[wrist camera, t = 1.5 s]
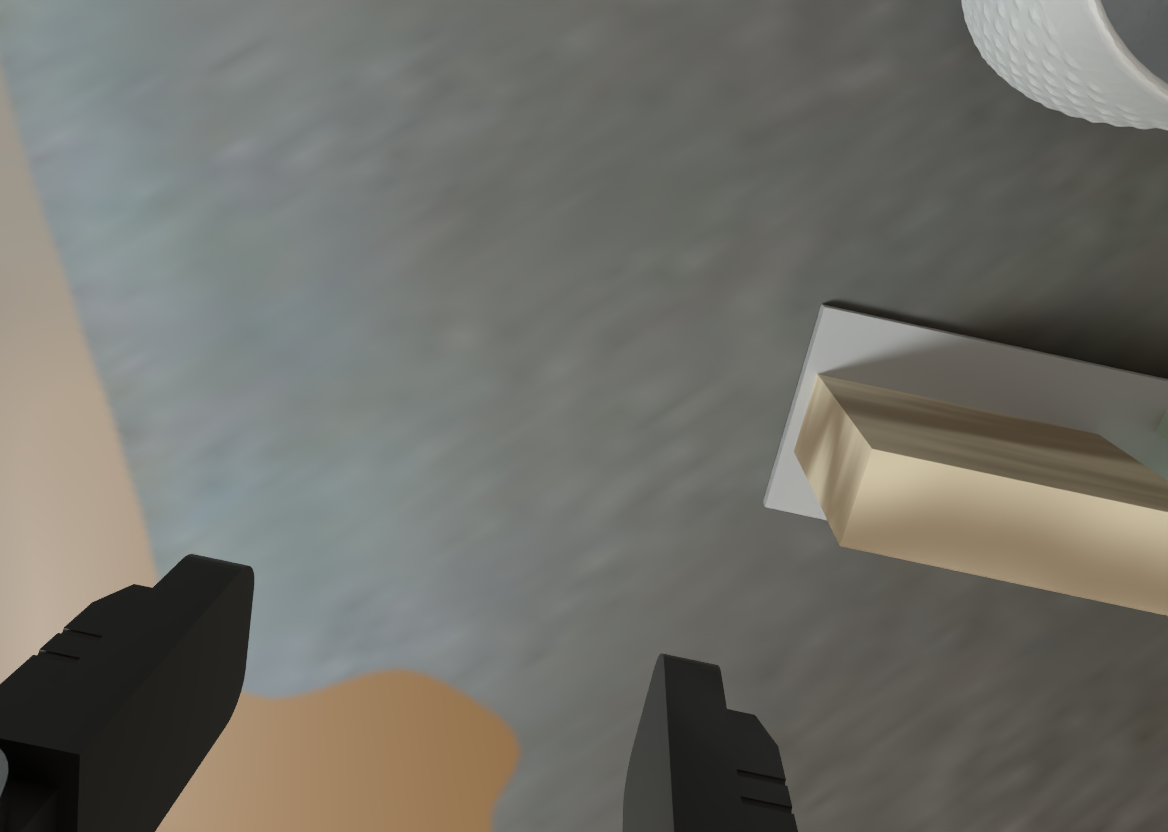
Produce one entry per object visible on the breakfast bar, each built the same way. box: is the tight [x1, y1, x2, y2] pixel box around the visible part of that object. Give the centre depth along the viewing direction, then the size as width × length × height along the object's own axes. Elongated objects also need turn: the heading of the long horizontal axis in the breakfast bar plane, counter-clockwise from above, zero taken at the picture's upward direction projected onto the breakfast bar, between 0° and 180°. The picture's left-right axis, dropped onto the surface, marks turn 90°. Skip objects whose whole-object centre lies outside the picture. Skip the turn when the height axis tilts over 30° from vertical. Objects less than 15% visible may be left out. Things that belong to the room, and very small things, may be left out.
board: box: [763, 304, 1168, 520], centre depth 38 cm, size 9×22×1 cm, turn 78°
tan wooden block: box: [794, 374, 1168, 616], centre depth 34 cm, size 4×12×9 cm, turn 78°
